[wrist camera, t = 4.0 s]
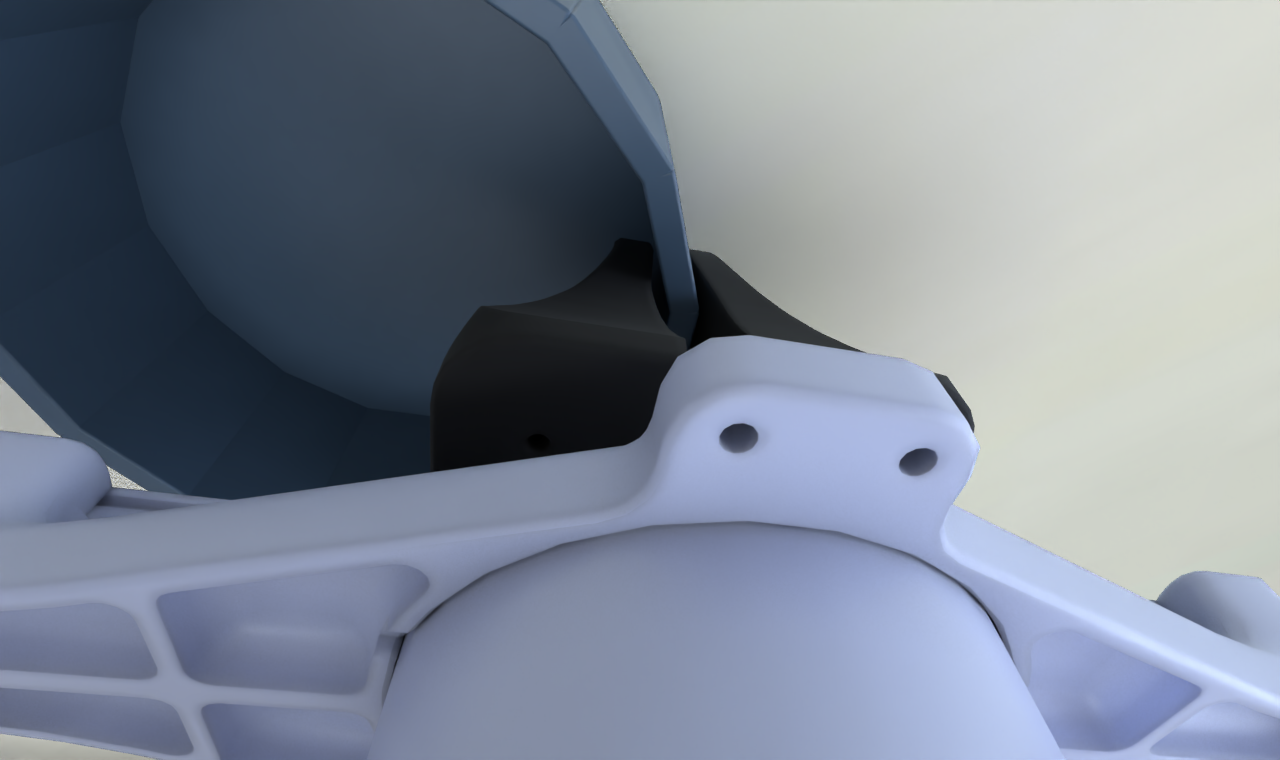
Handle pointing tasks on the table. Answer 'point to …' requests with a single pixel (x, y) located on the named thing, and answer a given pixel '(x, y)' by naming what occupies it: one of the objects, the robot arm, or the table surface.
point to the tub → (303, 217)
